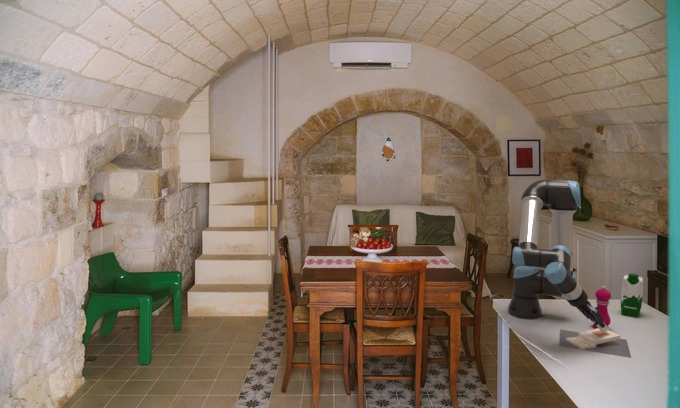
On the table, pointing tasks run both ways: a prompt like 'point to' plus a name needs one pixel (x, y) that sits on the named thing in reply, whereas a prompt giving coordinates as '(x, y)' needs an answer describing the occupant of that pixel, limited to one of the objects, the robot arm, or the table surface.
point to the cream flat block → (598, 336)
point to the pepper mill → (603, 304)
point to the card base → (580, 342)
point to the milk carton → (631, 295)
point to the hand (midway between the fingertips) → (605, 330)
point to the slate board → (598, 345)
